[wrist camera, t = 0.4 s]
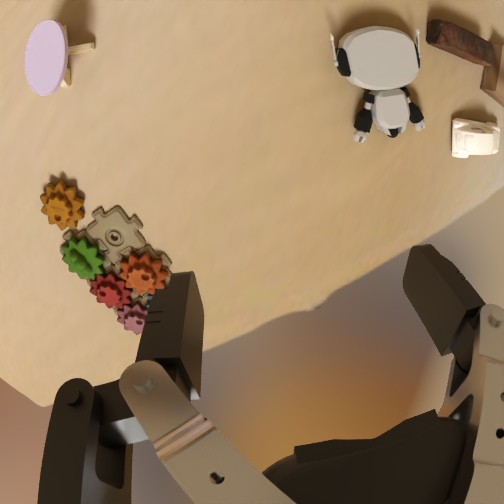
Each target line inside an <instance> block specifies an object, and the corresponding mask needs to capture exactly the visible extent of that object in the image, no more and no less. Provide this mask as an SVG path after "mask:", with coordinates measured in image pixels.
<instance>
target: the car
mask: <svg viewBox="0 0 504 504" xmlns="http://www.w3.org/2000/svg"><path fill="white" fill-rule="evenodd" d="M452 122H453V128H452V155H451V156H454V157H459V158H467V157H468V156H469V155H487V154H490V155H491V154H493V153H496V152H498V145H499V130H500V127H499V125H497V124H495V123H492V122H486V123H482V122H477V121H472V120H467V119H466V120H464V119H461V118H455V119H454V120H452Z"/></svg>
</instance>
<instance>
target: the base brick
mask: <svg viewBox="0 0 504 504" xmlns="http://www.w3.org/2000/svg"><path fill="white" fill-rule="evenodd" d="M490 43H491V42H490ZM491 44H492V45H493V59H494V64H493V65H491V66H486V65H484V70H483V76H482V81H481V86H480V89H481V90H483V91H484V92H485V93H487V94H488V95H489V96H491V97H492V98H493V99H494V100H496V101H497V102H498V103H499V104H501V105H502V106H503V107H504V45H503V44H493V43H491Z"/></svg>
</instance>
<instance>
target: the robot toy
mask: <svg viewBox="0 0 504 504" xmlns="http://www.w3.org/2000/svg"><path fill="white" fill-rule="evenodd" d="M416 38H417V47H416V44H415V43H413V41H412V40H411V38H410V37H409V35H407V34H406V33H404V32H403V31H401V30H398V29H394V28H390V27H383V26H369V27H364V28H360V29H356V30H353V31H351V32H349V33H347V34H345V35H344V36H343V37H342V38H341V39H340V40H339V45H338V48H337V49H335V47H334V41H333V40H334V38H333V35H332V34H330V40H331V44H332V50H333V57H334V61H333V64H334V66H335V67H336V66H337V69H338V70H339V72H340V74H341V75H342V76H345V77H346V78H347V79H348V81H349V82H350V83H352V84H354V85H356V86H359V87H362V88H365V89H371V91H370V92H369V93H366V92H364V96H363V100H364V101H365V105H364V108H363V109H362V110H361V111H360V112H359V113H358V114H357V117H356V121H355V125H354V127H355V128H356V129H357V130H356V131H355V133H354V136H353V139H354V140H355V141H356V142H358V140H359V142H360V143H363V142H365V140H366V132H368V133H370V129H371V125H372V121H373V122H374V123H375V125H376V126H377V128H378V130H380V131H382V132H383V133H385V134H387V135H388V136H389V137H391V138H394V137H396V136H397V135H398V133H400V134H401V133H403V132H404V131H405V129H406V124H407V121H408V120H409V119H410V121H411V122H412V123H414V127H415V128H416V130H417V131H421V130H422V129H421V127H422V128H423V129H424V128H425V126H426V125H425V122H424V120H423V119H424V117H423V115H422V113H421V111H420V109H419V107H418V106H416V105H415V104H414V103H413V102H411V101H410V99H409V96H410V93H409V92H408V90H407V88H406V87H403V86H405V85H407V84H409V83H411V82H412V81H413V80H414V79H415V78H416V76H417V73H418V70H419V68H420V58H421V54H420V53H419V31H418V29H416ZM399 87H401V88H399ZM398 88H399V89H398ZM420 126H421V127H420ZM359 137H360V139H359Z"/></svg>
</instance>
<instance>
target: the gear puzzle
mask: <svg viewBox="0 0 504 504" xmlns="http://www.w3.org/2000/svg"><path fill="white" fill-rule="evenodd" d="M40 199H41V201H42V203H43V204H44V206H43V207H42V209H41V212H42V213H43V214H45V215H48V221H49V224H57V225H58V227H59V228H60V229H61V230H64V229H65V228H66V227H67V226H68V227H70V228H73V229H75V228H76V227H77V220H81V219H83V218H84V214H83V212H82V211H81V210H80V207H81V206H82V205H83V204H84V200H82V199H80V198H78V197H76V187H70V188H66V185H65V184H64V182H63V181H62V180H61V181H59V183H58V184H57V185H56V186H54V185H53V184H50V183H48V184H47V186H46V193H43V194H41V196H40ZM92 217H93V218H95V219H96V221H94V222H93V223H92V224H90V225H89V226H88V227H87V230H82V231H81V232H79V233H78V234H77V235H74V234H73V232H72V231H71V230H70V231H68V232H67V233H66V234H65V235H64V236H63V239H64V240H66V241H67V242H66V243H65V244H64V245H63V246H62V247H61V248H60V252H61V254H62V255H63V258H62V260H63V261H64V262H65V263H67V264H69V271H70V272H76V273H77V274H78V276H79V277H80V278H81V279H85V280H87V283H88V285H89V286H90V287H91V289H90V292H91V293H92V294H93V295H95V296H97V302H99V303H105V304H106V306H107V307H108V308H114V312H115V313H116V314H117V315H118V316H119V317H118V318H117V321H118V322H120V323H121V324H124V329H125V330H132V331H133V332H134V333H135V334H136V335H138V334H140V333H142V331H143V327H144V324H145V319H146V315H147V311H148V307H149V303H150V300H151V299H152V297H153V296H154V295H155V293H156V292H157V291H158V290H159V289H168V285H169V281H170V276H171V272H170V271H169V270H168V269H167V267H166V266H170V265H171V264H172V262H171V261H170V260H169V258H168V257H167V256H166V254H165V253H162V254H161V255H160V256H157V255H156V254H155V252H154V251H153V250H152V248H151V247H150V246H148V245H145V239H144V238H143V237H142V235H141V234H140V233H139V231H138V229H142V228H143V225H142V224H141V222H140V221H139V219H138V218H137V216H135V215H134V216H133V217H132V219H129V218H128V217H127V215H126V214H125V212H124V211H123V210H122V209H121V208H120V207H115V208H113V209H112V210H110V211H109V212H107V213H104V210H103V208H102V207H101V208H99V209H98V210H96V211H95V212H94V213H93V214H92ZM112 234H116V235H117V236H118V239H115V238H113V237H112ZM112 262H114V263H115V262H116V263H115V265H112ZM139 294H143V297H142V296H139Z"/></svg>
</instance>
